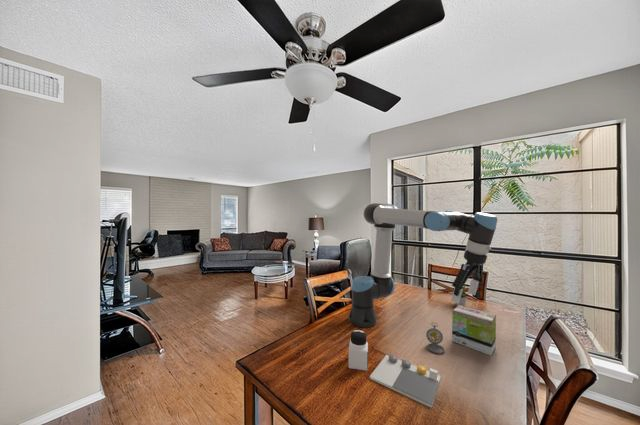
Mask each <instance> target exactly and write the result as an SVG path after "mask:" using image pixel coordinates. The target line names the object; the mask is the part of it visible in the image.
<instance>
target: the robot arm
mask: <svg viewBox="0 0 640 425" xmlns="http://www.w3.org/2000/svg"><path fill="white" fill-rule="evenodd" d="M363 218H364V220H365V221H366V222H367V223H368V224H370V225H373V227H374V229H375V230H376V234H375V248H374V261H373V262H374V263H373V270H371V272H370V276H369V275H359V276H356V277H354V278H353V279H352V281H351V282H352V283H351V307H350V311H349V314H348V322H349V323H350V324H351V325H352V326H355V327H358V328H372V327H375V326H376V325H377V322H378V321H377V320H378V319H377V315H376V311H375V309H374V301H375V300H378V299H381V298H387V297H389V296H391V295H392V294H393V293H394V291H395V287H396V285H395V281H394V279H393V277H392V274H391V273H390V263H391V262H390V261H391V248H392V237H393V231H394V230H395V229H396V225H397V226H403V227H411V228H419V229H426V230H427V229H428V230H430V231H433V232H442V231H443V232H446V231H458V232H461V233H465V234H468V239H467V242H466V246H465V250H464V254H463V258H464V260H466V263H465V264H464V263H461V266H460V269H459V271H458V273H457V275H456V277H455V279H454V280H453V281H454V282H453V283H451V285H452V287H453V288H454V287H455V288H454V289H453V290H454V291H452V293H453V294H452V297H451V301H452V302H454V303H455V302H456V303H457V304H459V301H460V298H461V294H462V291H463V289H462V287H464V286H465V285H466V284H467V283H466V282H467V281H468V279H469V278H470V277H472V278H471V279H470V282H469V285H468V286H469V287H468V290H467V291H468V292H467V293H468V294H471V295H473V296H476V293H477V290H478V287H479V283H480V282H483V277H484V264H485V263H486V262H487V259H488V254H489V252H490V250H492V247H491V244H492V240H493V238H494V234H495V232H496V229H497V223H498V217H497V216H496V215H494V214H491V213H486V212H475V213H474V215H469V214H466V213H463V212H459V211H456V210H449V209H448V210H447V209H446V210H444V211H435V210H419V209H407V208H398V206H396V205H395V204H390V203H375V202H374V203H370V204H368V205H367V206H366V207H365V208H364V210H363Z"/></svg>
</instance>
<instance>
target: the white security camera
mask: <svg viewBox="0 0 640 425" xmlns="http://www.w3.org/2000/svg"><path fill="white" fill-rule="evenodd" d="M348 368H349V369H351V370H352V369H353V370H359V371H365V372H366V371H369V343H368V341H367V333H366V332H365V331H363V330H359V329H356V330H353V331H351V332H350V340H349V344H348Z"/></svg>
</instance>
